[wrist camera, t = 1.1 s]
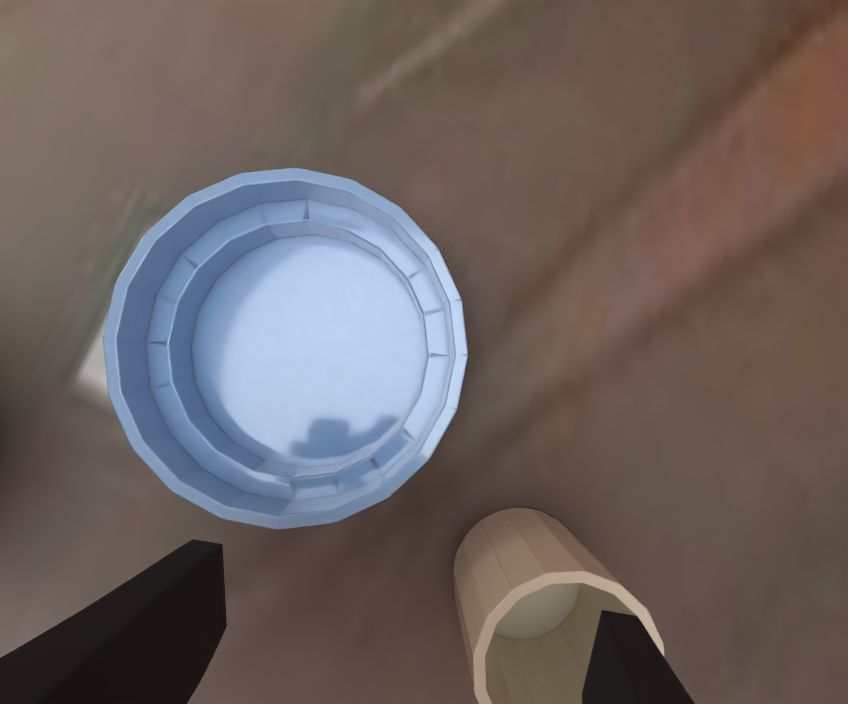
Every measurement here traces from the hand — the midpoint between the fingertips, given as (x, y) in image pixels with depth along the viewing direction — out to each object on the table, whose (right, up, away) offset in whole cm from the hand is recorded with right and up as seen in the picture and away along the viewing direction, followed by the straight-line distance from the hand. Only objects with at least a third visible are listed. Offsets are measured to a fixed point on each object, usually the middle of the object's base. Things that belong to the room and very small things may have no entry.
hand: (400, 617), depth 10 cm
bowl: (-4, +5, +12) cm, 14 cm away
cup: (+4, -4, +12) cm, 14 cm away
